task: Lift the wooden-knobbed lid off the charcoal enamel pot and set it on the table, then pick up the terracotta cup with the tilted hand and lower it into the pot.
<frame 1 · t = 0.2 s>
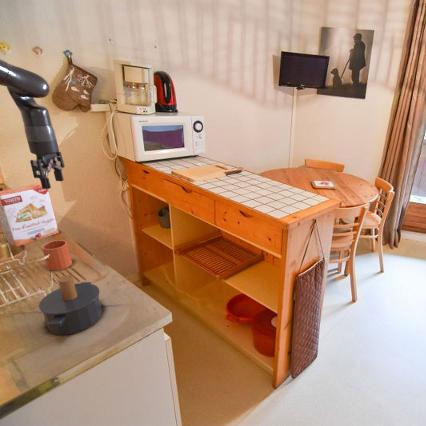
hand: (53, 184, 112), 24 cm above the countertop, tool pointing down, fingers open, 8 cm apart
cup: (61, 268, 107), on the countertop
lid: (70, 298, 83), point 7 cm above the countertop, touching pot
cracker box: (35, 240, 122), on the countertop
pot: (76, 319, 86), on the countertop
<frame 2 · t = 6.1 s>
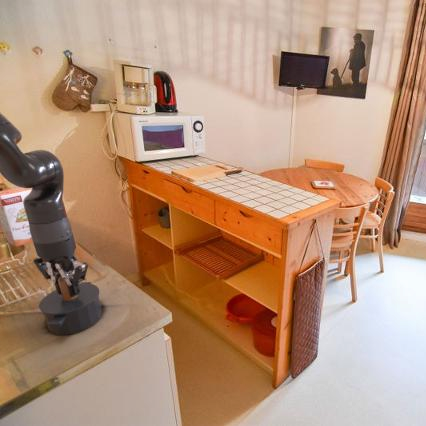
hand: (69, 293, 83), 9 cm above the countertop, tool pointing down, fingers closed on lid, 3 cm apart
lid: (70, 298, 83), point 7 cm above the countertop, touching gripper, pot
everything else where it was.
when the fingers open (2 cm above the countertop, at t = 13.8 s): lid stays where it is, point 1 cm above the countertop.
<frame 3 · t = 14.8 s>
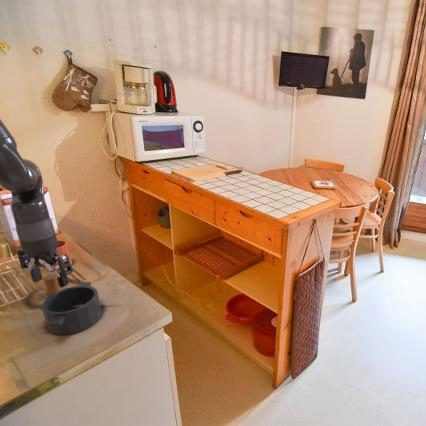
hand: (51, 283, 92), 5 cm above the countertop, tool pointing down, fingers open, 8 cm apart
lid: (55, 295, 93), point 1 cm above the countertop
everything else where it was.
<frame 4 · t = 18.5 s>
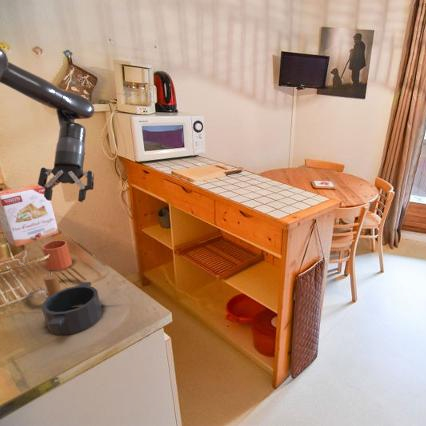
hand: (64, 200, 103), 23 cm above the countertop, tool tilted 35°, fingers open, 8 cm apart
nothing on the countertop moved.
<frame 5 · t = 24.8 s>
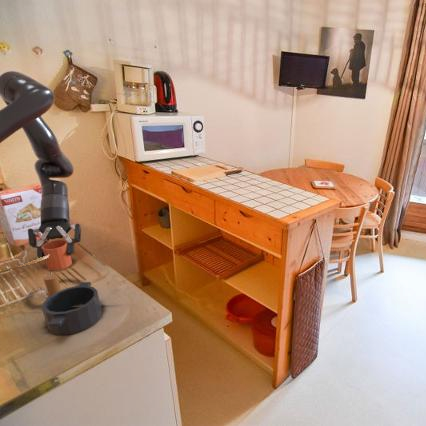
hand: (56, 256, 103), 5 cm above the countertop, tool tilted 45°, fingers closed on cup, 6 cm apart
cup: (61, 268, 107), on the countertop, touching gripper
everything else where it was.
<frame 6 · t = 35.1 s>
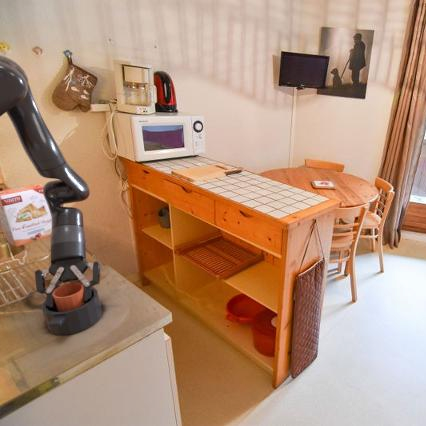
hand: (70, 304, 82), 6 cm above the countertop, tool tilted 45°, fingers closed on cup, 6 cm apart
cup: (75, 317, 86), point 1 cm above the countertop, touching gripper
everything else where it was.
when the fingers open (8 cm above the countertop, at t = 48.0 s): cup drops 2 cm, resting on pot.
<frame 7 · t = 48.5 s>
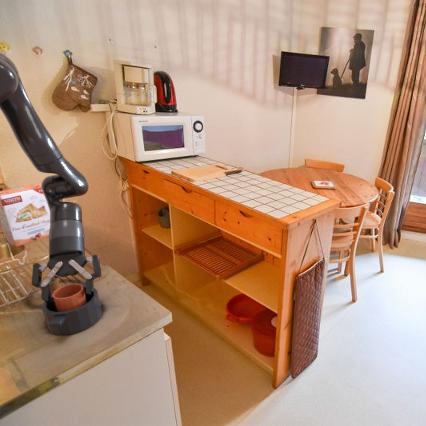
hand: (68, 298, 82), 8 cm above the countertop, tool tilted 45°, fingers open, 8 cm apart
cup: (75, 318, 86), resting on pot
everything else where it was.
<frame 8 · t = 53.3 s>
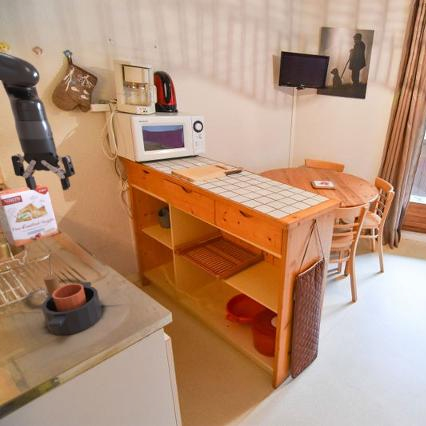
hand: (50, 189, 96), 28 cm above the countertop, tool pointing down, fingers open, 8 cm apart
nothing on the countertop moved.
at the end: lid inside the target area (0.1 cm from its centre), point 0.6 cm above the countertop; cup 0.2 cm off-centre in the pot, point 0.5 cm above the pot's base; cup tilted 0° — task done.
